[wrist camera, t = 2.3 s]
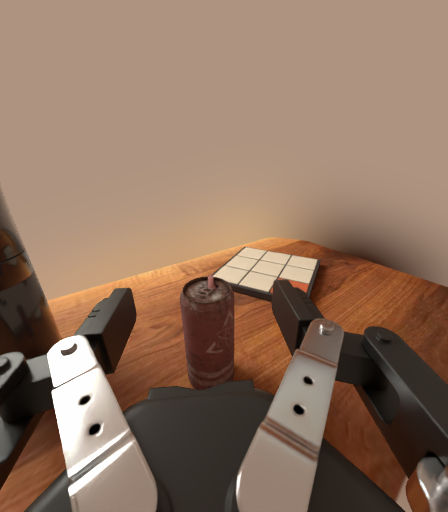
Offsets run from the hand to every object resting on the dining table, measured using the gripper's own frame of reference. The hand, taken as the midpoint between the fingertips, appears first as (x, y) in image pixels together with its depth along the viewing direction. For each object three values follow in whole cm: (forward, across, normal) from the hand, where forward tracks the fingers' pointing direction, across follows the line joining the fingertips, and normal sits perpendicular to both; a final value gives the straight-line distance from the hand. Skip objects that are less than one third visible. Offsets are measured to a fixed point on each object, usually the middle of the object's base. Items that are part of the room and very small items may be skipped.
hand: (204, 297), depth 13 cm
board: (+38, -15, +20) cm, 46 cm away
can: (+11, 0, +20) cm, 23 cm away
